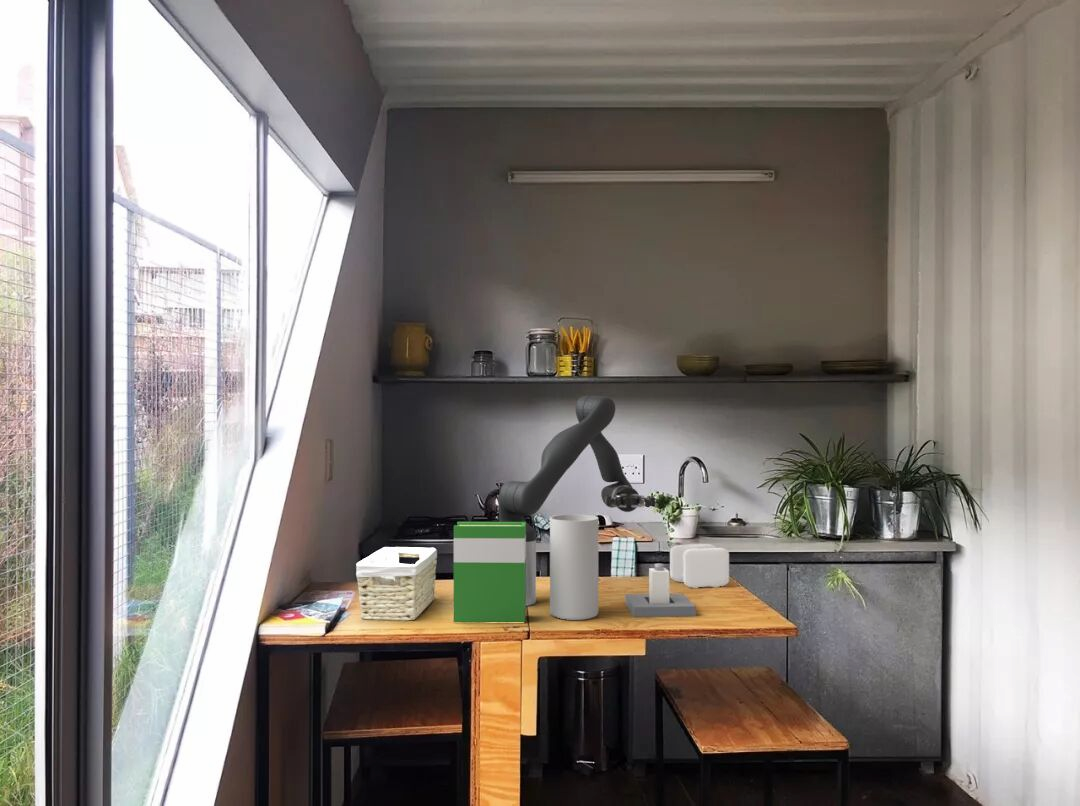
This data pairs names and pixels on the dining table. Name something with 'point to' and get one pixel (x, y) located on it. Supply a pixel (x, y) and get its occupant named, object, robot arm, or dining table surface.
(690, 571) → the white napkin holder
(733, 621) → the dining table surface
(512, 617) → the green cereal box
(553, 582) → the cylinder vase
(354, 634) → the dining table surface
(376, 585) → the storage basket
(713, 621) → the dining table surface
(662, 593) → the white block with knob
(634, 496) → the robot arm
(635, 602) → the socket plate
